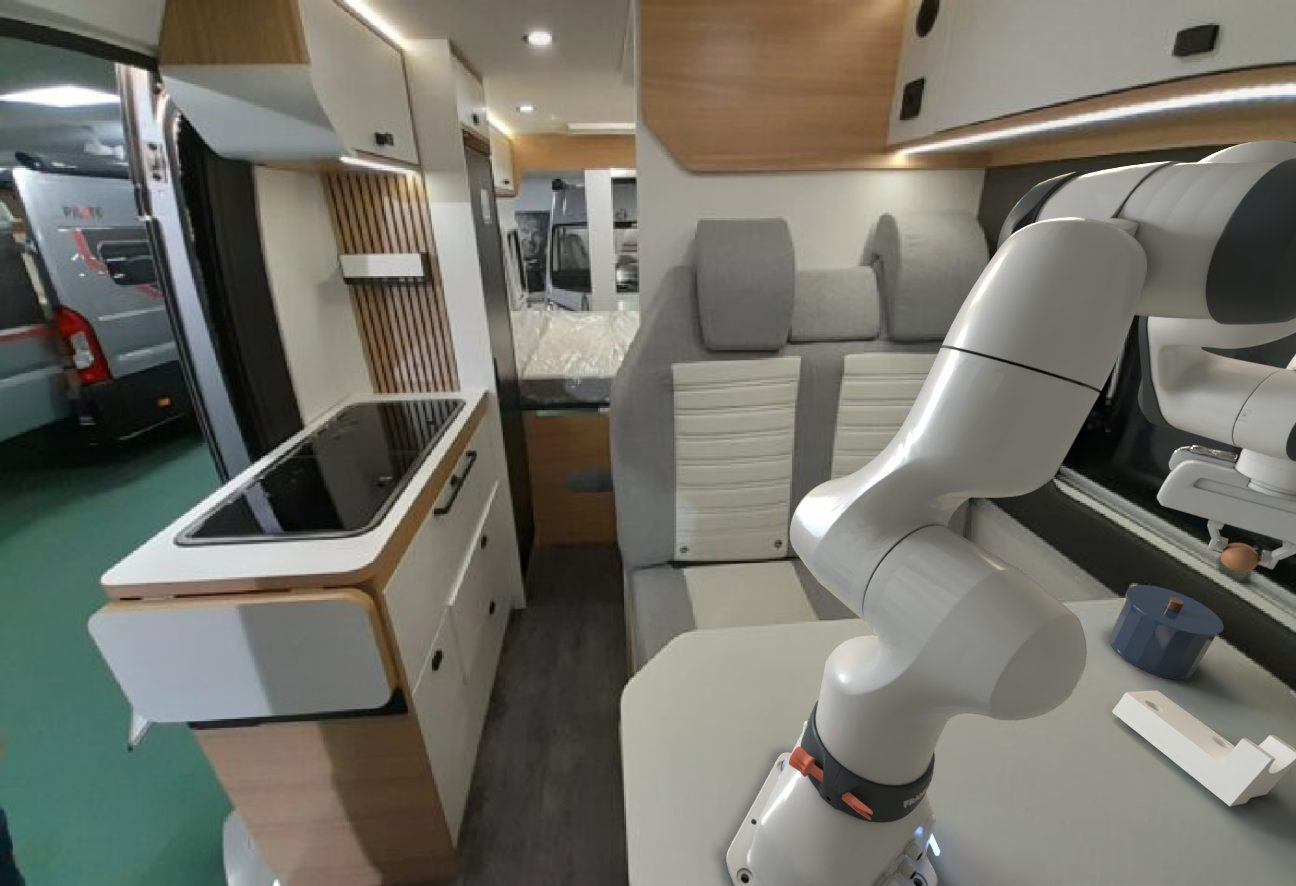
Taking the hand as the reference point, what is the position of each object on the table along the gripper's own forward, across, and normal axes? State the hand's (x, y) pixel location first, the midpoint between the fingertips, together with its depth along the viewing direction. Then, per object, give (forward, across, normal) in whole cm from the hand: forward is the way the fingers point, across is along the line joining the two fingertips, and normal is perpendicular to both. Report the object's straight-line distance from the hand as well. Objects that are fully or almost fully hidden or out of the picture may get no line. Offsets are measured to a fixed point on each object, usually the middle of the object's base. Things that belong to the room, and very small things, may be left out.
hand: (1239, 557), depth 72 cm
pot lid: (+12, -3, +1) cm, 12 cm away
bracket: (+21, +2, -17) cm, 27 cm away
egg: (+2, 0, 0) cm, 2 cm away
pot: (+20, -3, +1) cm, 21 cm away
